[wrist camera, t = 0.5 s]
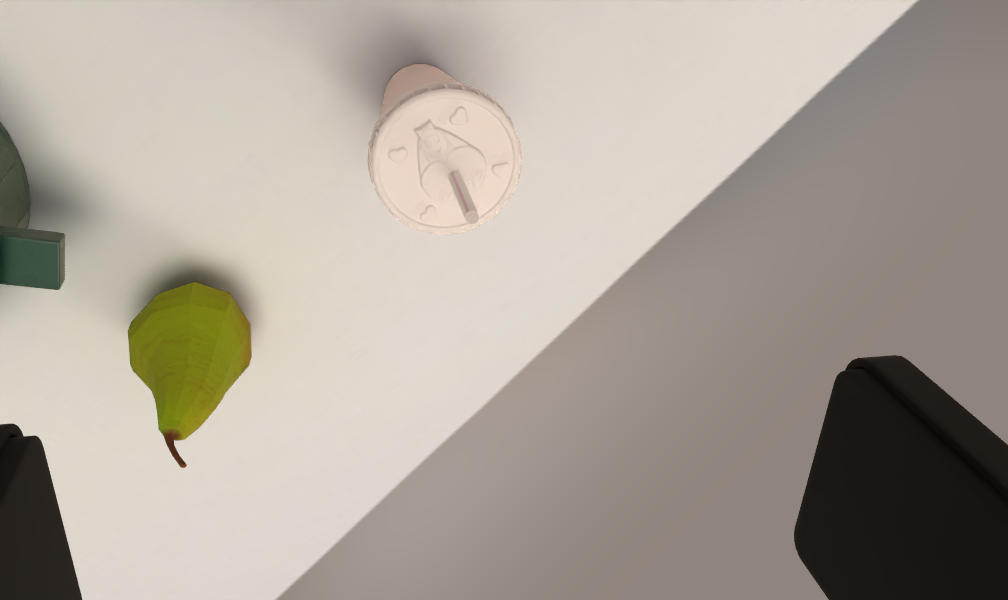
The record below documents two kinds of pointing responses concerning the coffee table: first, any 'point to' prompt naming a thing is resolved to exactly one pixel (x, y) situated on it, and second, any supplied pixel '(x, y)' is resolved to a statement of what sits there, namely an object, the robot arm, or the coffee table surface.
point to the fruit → (189, 355)
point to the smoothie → (442, 152)
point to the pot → (24, 230)
